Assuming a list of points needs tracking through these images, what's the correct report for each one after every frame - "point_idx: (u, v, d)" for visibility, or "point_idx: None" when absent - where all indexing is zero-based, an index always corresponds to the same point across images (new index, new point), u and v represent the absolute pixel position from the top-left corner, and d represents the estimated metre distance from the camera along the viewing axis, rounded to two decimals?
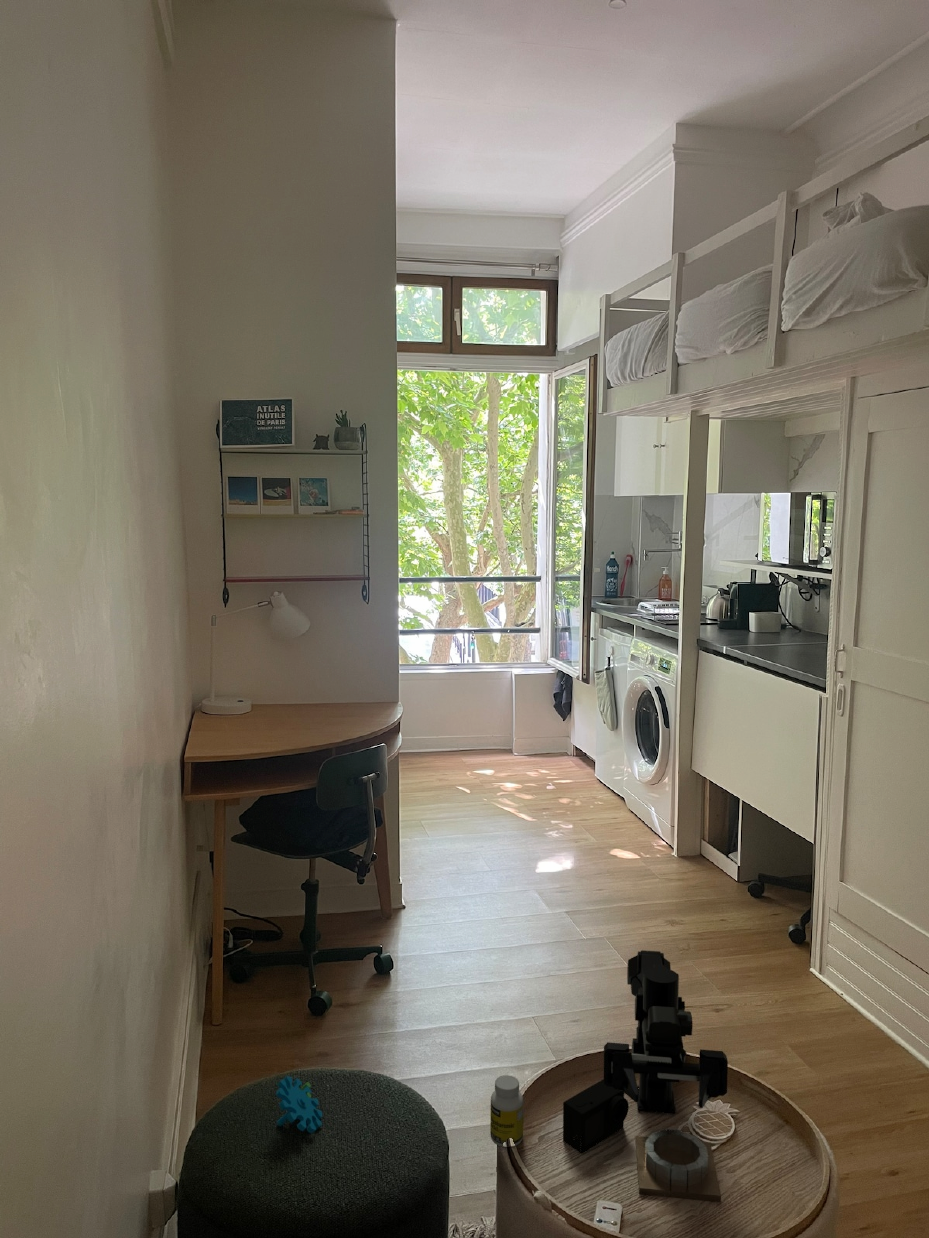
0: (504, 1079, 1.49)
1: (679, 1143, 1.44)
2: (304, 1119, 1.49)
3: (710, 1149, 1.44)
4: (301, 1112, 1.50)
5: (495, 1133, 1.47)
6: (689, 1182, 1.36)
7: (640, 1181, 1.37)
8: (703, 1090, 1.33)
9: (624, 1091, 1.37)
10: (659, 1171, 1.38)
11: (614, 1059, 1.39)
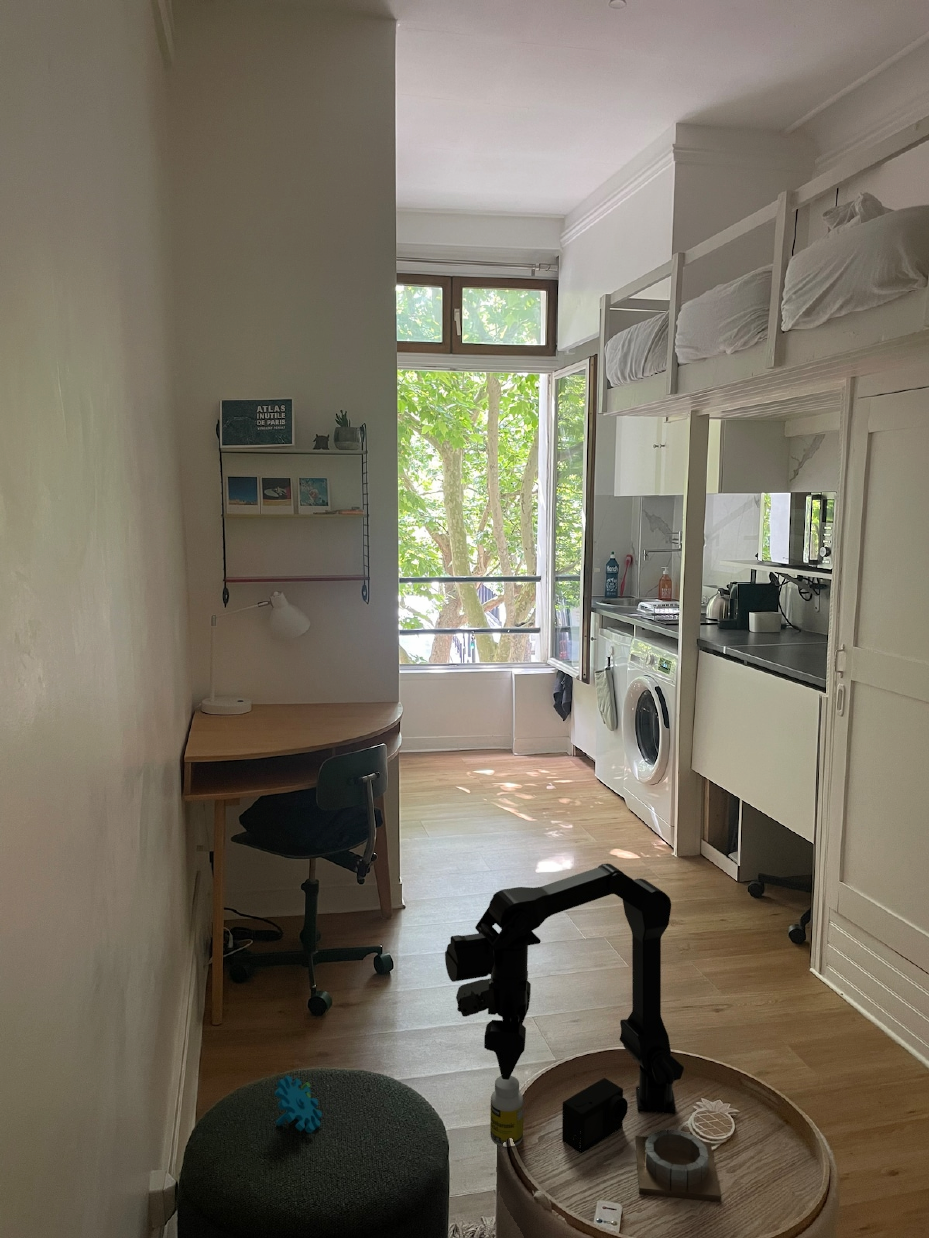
0: (504, 1079, 1.49)
1: (679, 1143, 1.44)
2: (303, 1119, 1.49)
3: (710, 1149, 1.44)
4: (299, 1112, 1.50)
5: (495, 1133, 1.47)
6: (689, 1182, 1.36)
7: (640, 1181, 1.37)
8: (499, 1067, 1.42)
9: None
10: (659, 1171, 1.38)
11: None
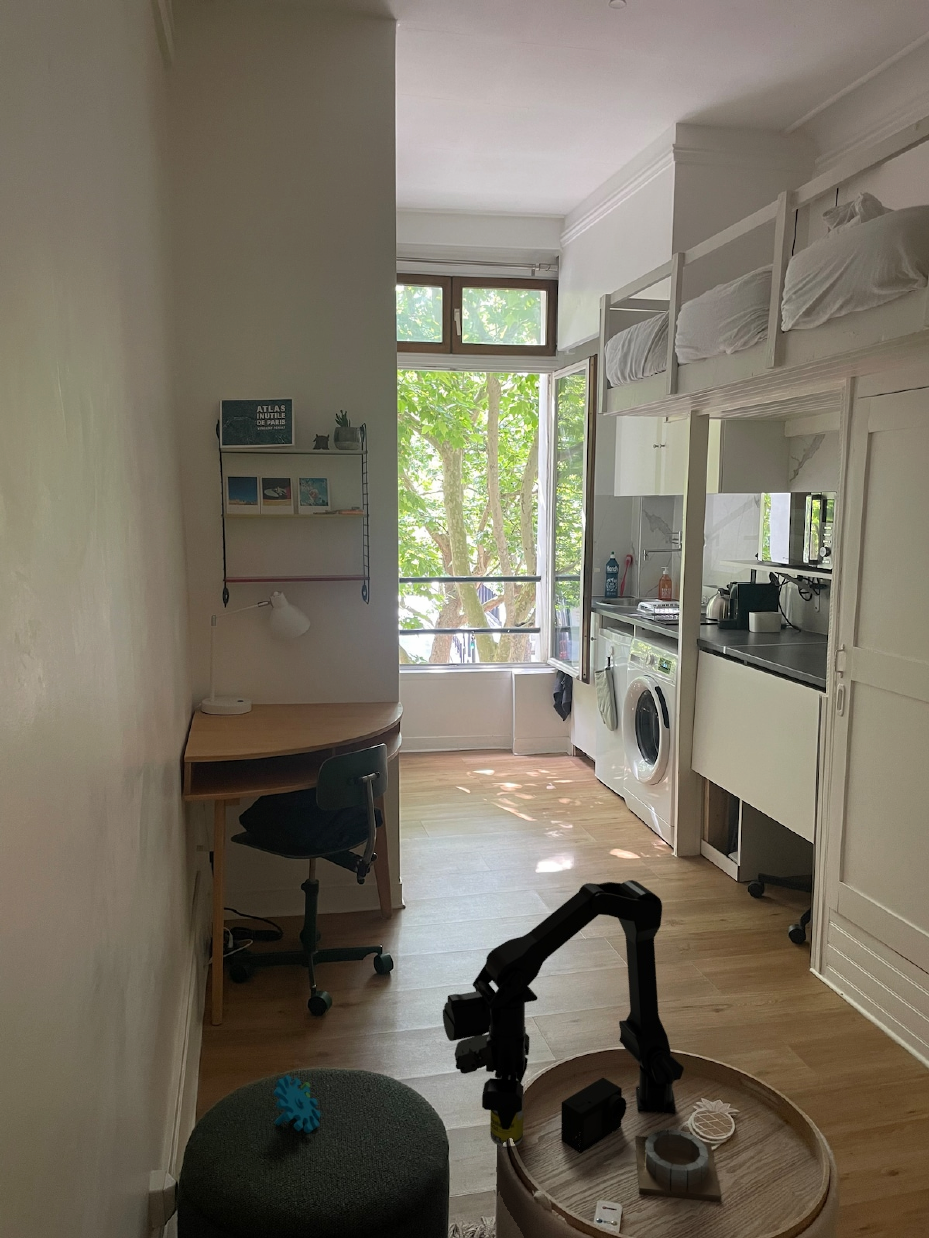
0: None
1: (679, 1143, 1.44)
2: (301, 1119, 1.49)
3: (710, 1149, 1.44)
4: (298, 1112, 1.50)
5: (495, 1133, 1.47)
6: (689, 1182, 1.36)
7: (640, 1181, 1.37)
8: None
9: None
10: (659, 1171, 1.38)
11: None
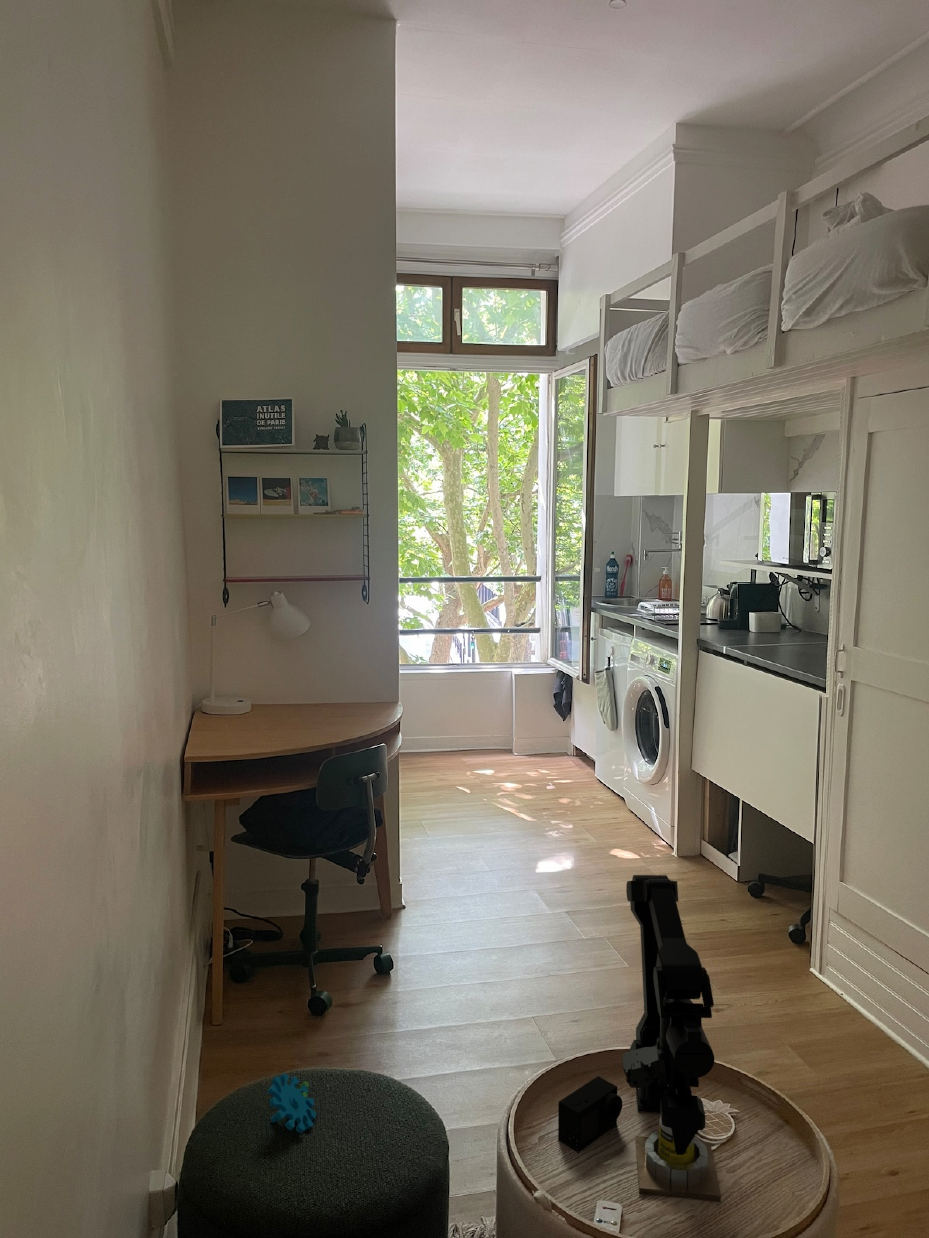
0: None
1: None
2: (293, 1118, 1.49)
3: (710, 1149, 1.44)
4: (291, 1111, 1.50)
5: (666, 1160, 1.39)
6: (689, 1182, 1.36)
7: (640, 1181, 1.37)
8: (674, 1142, 1.35)
9: None
10: (659, 1171, 1.38)
11: None
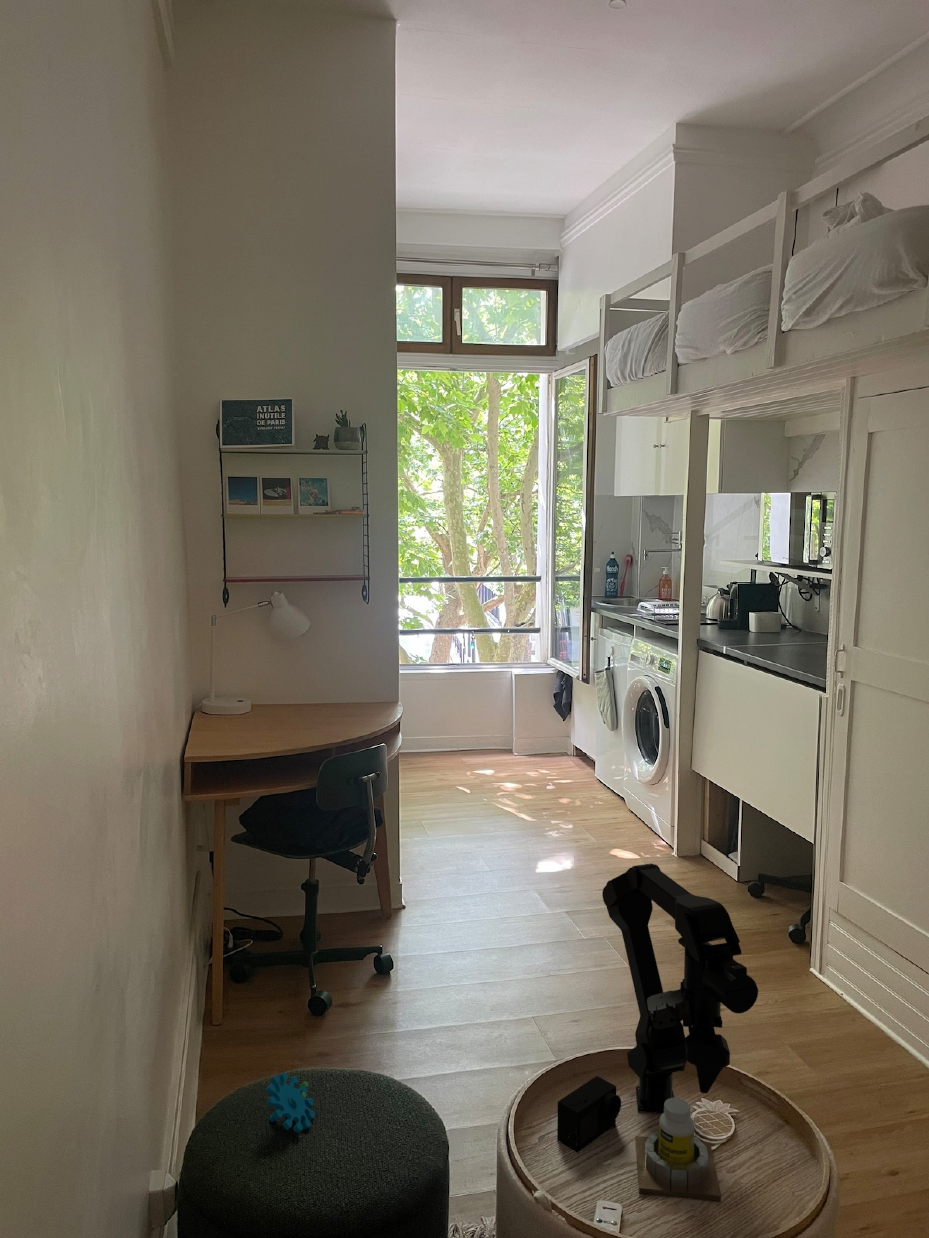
0: (673, 1102, 1.41)
1: None
2: (291, 1118, 1.49)
3: (710, 1149, 1.44)
4: (289, 1110, 1.50)
5: (666, 1160, 1.39)
6: (689, 1182, 1.36)
7: (640, 1181, 1.37)
8: None
9: None
10: (659, 1171, 1.38)
11: None
